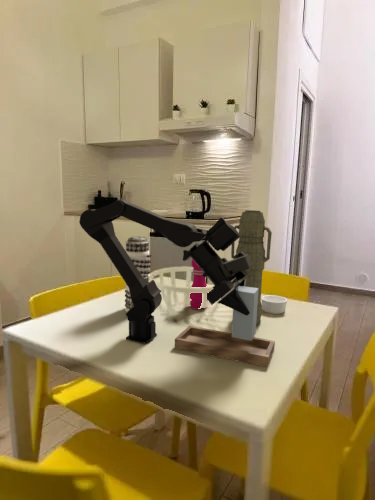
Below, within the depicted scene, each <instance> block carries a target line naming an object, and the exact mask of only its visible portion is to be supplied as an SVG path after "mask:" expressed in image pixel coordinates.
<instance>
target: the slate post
mask: <svg viewBox="0 0 375 500" xmlns="http://www.w3.org/2000/svg"><path fill="white" fill-rule="evenodd" d="M258 290H259V288H253V287H245V286H238V294H239V296H240V298H241V299H242V301H243V302H244V304H245V305H246V307H247V309H248V310H249V312H250V314H248V315H247V316H246V315H244V314H242V313H240V312H238V311H236V310H234V309H232V323H231V324H232V325H231V333H232V337H234V338H239V339H245V340H250V341H252V339H253V337H255V336H256V334H257V326H256V320H257V305H258Z"/></svg>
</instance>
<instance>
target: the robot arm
mask: <svg viewBox="0 0 375 500" xmlns="http://www.w3.org/2000/svg"><path fill="white" fill-rule="evenodd" d="M121 217H123V218H124V219H127V220H129V221H132V222H135V223H137V224H139V225H141V226H143V227H146V228H148V229H151V230H153V231H155V232H158V233H159V234H161V235H162V236H163V237H165V238H166V239H167V240H169V241H170V242H172V243H173V244H175V246H177V247H179V248H187V247H190V246H191V245H192V244H193V243H195V242H200V241H201V243H195V244H193V246H192V247H190V248H189V249H184V250H183V255H182V261H183V262H185V261H188V260H190V259H191V260H192V259H193V260H194V261H195V263H196V264H197V265H198V266H199V267H200V269H201V270H202V271H203V272H204V273H203V274H202V275H203V277H204V278H205V279H206V278H208V280H209V281H210V282H211V283H212V284H213V286H212V289H211V290H210V291H209V293H207V300H206V301H207V302H208V303H209V304H210V305H211V306H213V305H214V304H215V303H217V304H219V305H223V306H225V307H228V308H229V309H232V310H233V309H234V310H236V311H238V312H240V313H242V314H244V315H246V316H247V315H248V314H250V312H249V310H248V309H247V307H246V305H245V304H244V302H243V301H242V299H241V298H240V296H239V294H238V286H245V285H246V280H247V278H245V279H244V280H241V279H242V278H243V277H245V276H246V275H247V274H248V273H247V272H246V271H245V270H247V269H249V268H250V267H251V266H252V264H251V261H250V259H251V257H249V256H248V254H245V253H244V252H240V253H237V254H236V253H235V255H236V258H235V259H233V258H232V259H231V260H227V258H226V257H220V256H219V254H218V253H217V252H218V251H222V252H225V251H226V250H227V249H228V248H229V247H231V246H232V244H233V243H234V242H235V243H236V242H237V240H239V238H240V237H241V236H240V234H239V231H238V229H237V228H236V229H235V228H234V227H235V226H233V225H232V224H230V222H229V221H227V220H225V218H224V217H221V216H220V218H219V219H217V221H216V222H215V223H214V224H213V225H212V226H211V227H210V228H209V229H202V228H200V227H199V228H198V227H197V226H196V225H195V224H194V223H191V222H186V221H183V220H178V219H172V218H168V217H164V216H162V215H160V214H157V213H156V212H152V211H150V210H148V209H146V208H143V207H141V206H138V205H136V204H133V203H132V202H130V201H129V200H126V199H117V200H115V201H113V202H112V203H109V204H106V205H104V206H102V207H99V208H96V209H94V208H93V209H86V210H84V211H83V212H82V213H81V214H80V217H79V226H80V228H81V229H82V230H83V231H84V233H86V235H88V236H89V237H90V238H91V239H93V240H94V241H96V242H97V243H99V244H100V246H101V247H102V249H103V251H104V252H105V253H106V255H107V257H108V258H109V260H110V261H111V263H112V264H113V266H114V267H115V268H116V270H117V272H118V273H119V275H120V277H121V278H122V279H123V281H124V283H125V285H126V284H127V286H128V287H129V291H130V297H131V300H132V303H133V305H134V306H133V307H132V308H131V309H130V310H129V311H128V312H127V311H126V312H125V316H126V319H127V321H128V335H127V336H126V337H125V340H126V341H131V342H136V343H142V344H148V343H149V342H150V341H152V340H153V339H154V338H155V337H157V335H158V334H157V333H156V328H157V327H156V326H157V325H156V321H155V315H152V314H153V313H154V312H155V311H156V310H157V309H158V308H159V306H160V305H161V304H162V299H163V298H162V293H161V292H162V290H161V289H160V288H159V287H158V285H157V284H156V282H155V280H154V279H152V280H150V281H149V282H148V281H147V280H145V279H144V278H143V277H142V275H141V274H140V272H139V271H138V269H137V268H136V266H135V265H134V263H133V262H132V260H131V258H130V257H129V255H128V254H127V252H126V248H124V247H123V245H122V243H121V242H120V240H119V239H118V237H117V236H116V232H115V227H114V223H113V222H114V221H115V220H117V219H119V218H121ZM205 238H206V239H205ZM203 239H205V240H203ZM202 240H203V242H202Z"/></svg>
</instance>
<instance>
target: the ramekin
mask: <svg viewBox="0 0 375 500" xmlns="http://www.w3.org/2000/svg"><path fill="white" fill-rule="evenodd" d="M287 302H288V299H287V298H286V297H284V296H281V295H275V294H270V295H269V294H268V295H263V296H261V303H262V312H264V313H265V312H266V313H268V314H271V315H272V314H274V315H279V314H280V315H281V314H284V313H285V312H286V308H287Z"/></svg>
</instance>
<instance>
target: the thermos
mask: <svg viewBox="0 0 375 500" xmlns="http://www.w3.org/2000/svg"><path fill="white" fill-rule="evenodd" d="M265 221H266V220H265V216H264V212H261V210H249V209H248V210H244V211H242V212H241V215H240V219H239V222H238V225H234V226H233V227H234V228H235V229H236V230H238V233H239V234H240V236H241V237H240V238H238V244H237V247H236V249H235V244H236V241H235V242H234V243H233V244H232V245H231V250H230V251H231V253H230V254H231V259H232V260H233V259H235V258H236V254H237V253H240V252H244V253H245V254H248V256H249V257H251V259H250V261H251V264H252V266H251V267H250V268H249V269H247V270H245V271H246V272H247V273H248V274H247V275H246V276H245V277H243V278H242V279H241V280H244V279H245V278H247V280H246V285H245V287H253V288H259V290H258V305H257V320H256V327H258V326H260V325H261V322H262V320H261V319H262V315H263V313H262V312H263V310H262V300H261V297H262V282H263V281H262V280H263V271H264V270H265V263H266V262H268V261H269V260H270V255H271V254H270V253H271V246H272V245H271V244H272V234H273V231H272V230H271V229H270V227H268V226H265V225H266V224H265ZM265 231H266V233H267V243H266V245H267V246H266V250H265V246H264V243H265V242H264V237H265Z"/></svg>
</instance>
